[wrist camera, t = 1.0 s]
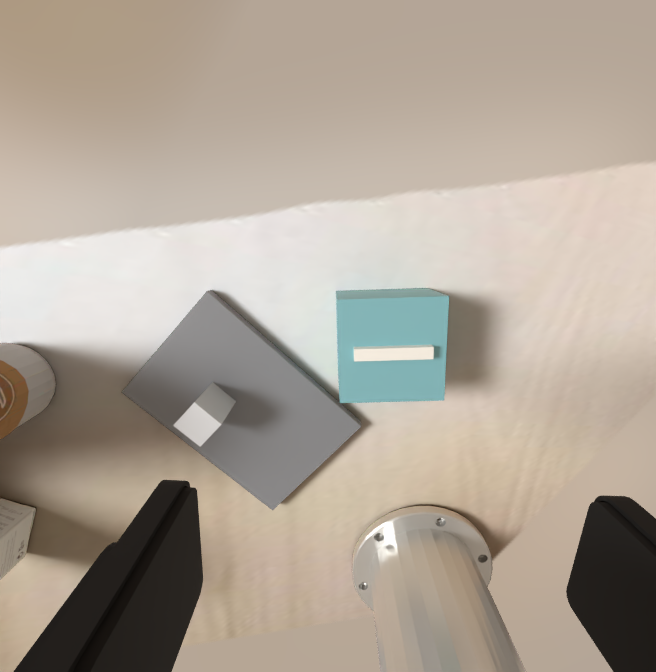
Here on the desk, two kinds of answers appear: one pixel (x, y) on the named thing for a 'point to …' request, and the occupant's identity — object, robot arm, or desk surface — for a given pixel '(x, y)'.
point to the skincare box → (14, 533)
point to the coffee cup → (22, 386)
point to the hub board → (241, 402)
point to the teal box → (391, 345)
